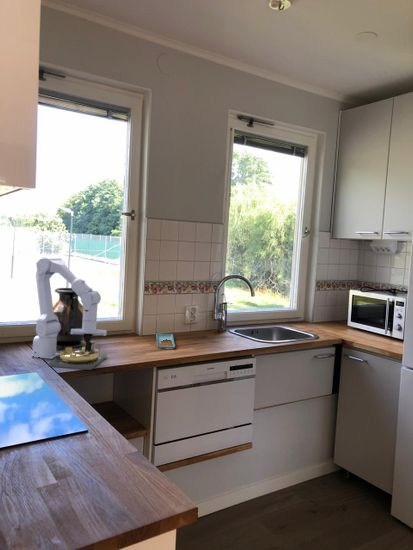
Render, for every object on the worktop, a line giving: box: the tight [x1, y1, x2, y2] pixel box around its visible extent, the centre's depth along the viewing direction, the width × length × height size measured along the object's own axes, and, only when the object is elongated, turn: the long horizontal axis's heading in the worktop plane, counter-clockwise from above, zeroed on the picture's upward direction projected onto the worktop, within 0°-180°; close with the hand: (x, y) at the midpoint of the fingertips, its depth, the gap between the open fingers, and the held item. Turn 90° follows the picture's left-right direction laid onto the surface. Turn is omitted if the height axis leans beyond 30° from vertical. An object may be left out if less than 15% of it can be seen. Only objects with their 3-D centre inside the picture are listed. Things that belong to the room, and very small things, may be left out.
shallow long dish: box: [155, 333, 176, 349], centre depth 235 cm, size 26×9×2 cm, turn 7°
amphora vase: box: [47, 287, 86, 351], centre depth 215 cm, size 22×22×28 cm
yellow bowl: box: [59, 340, 100, 363], centre depth 192 cm, size 16×16×7 cm
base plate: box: [48, 353, 108, 371], centre depth 192 cm, size 18×20×2 cm
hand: (87, 351), depth 190 cm, fingers closed, pressing on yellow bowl
